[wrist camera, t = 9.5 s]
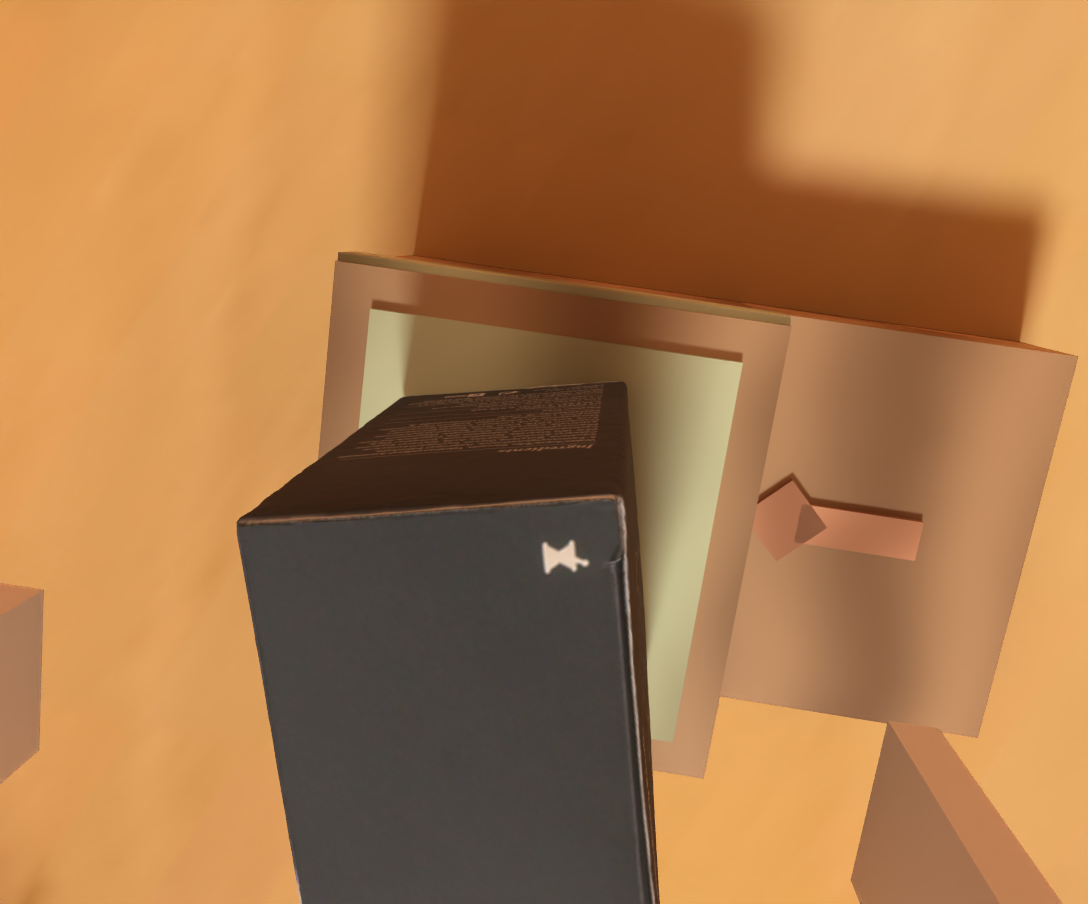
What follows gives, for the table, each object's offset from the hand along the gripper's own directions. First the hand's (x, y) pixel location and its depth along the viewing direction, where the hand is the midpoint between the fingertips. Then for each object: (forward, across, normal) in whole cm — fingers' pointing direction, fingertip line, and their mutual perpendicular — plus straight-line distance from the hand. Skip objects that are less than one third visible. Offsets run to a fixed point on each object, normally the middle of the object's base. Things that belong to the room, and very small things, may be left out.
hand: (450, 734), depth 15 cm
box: (+10, 0, 0) cm, 10 cm away
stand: (+19, +5, 0) cm, 19 cm away
